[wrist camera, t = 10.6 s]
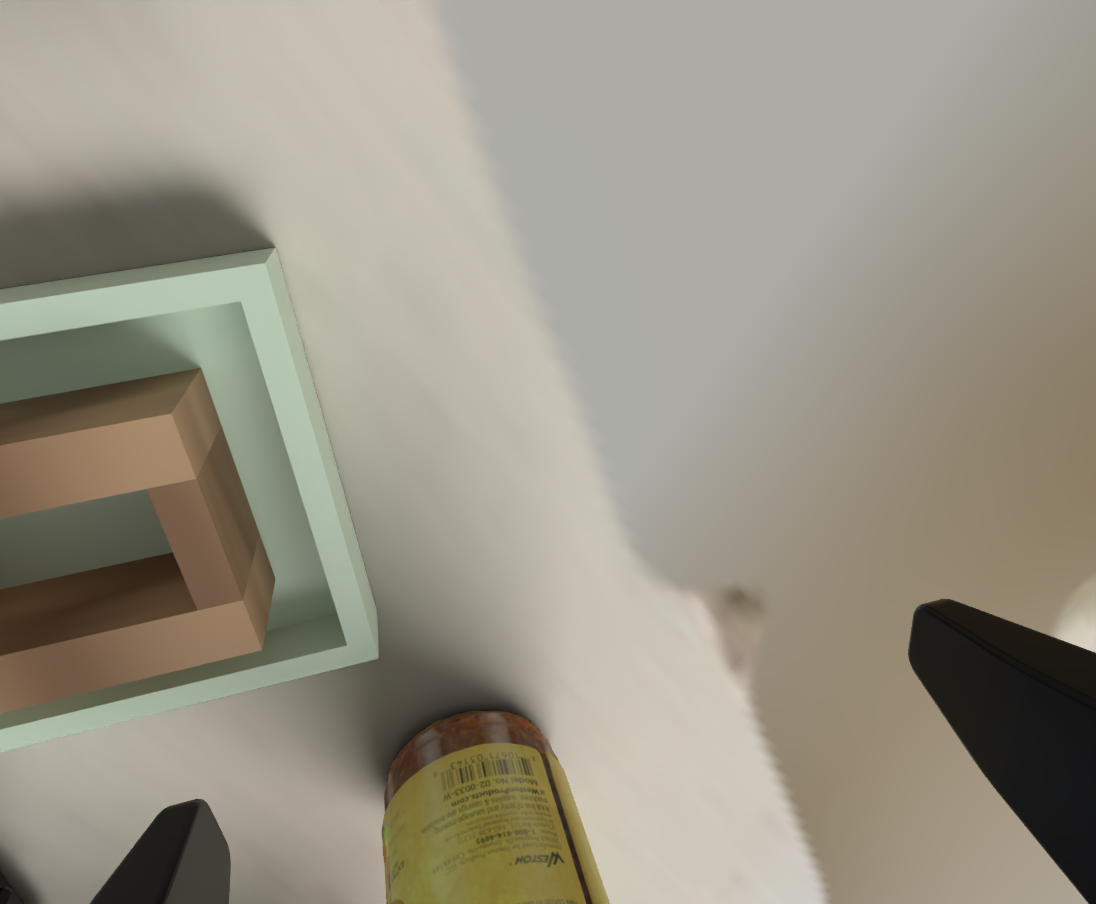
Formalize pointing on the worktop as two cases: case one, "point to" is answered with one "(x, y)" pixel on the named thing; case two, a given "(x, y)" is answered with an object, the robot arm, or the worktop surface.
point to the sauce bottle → (484, 818)
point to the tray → (257, 449)
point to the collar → (142, 585)
